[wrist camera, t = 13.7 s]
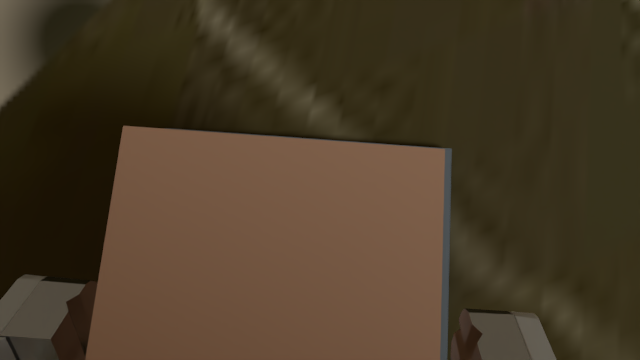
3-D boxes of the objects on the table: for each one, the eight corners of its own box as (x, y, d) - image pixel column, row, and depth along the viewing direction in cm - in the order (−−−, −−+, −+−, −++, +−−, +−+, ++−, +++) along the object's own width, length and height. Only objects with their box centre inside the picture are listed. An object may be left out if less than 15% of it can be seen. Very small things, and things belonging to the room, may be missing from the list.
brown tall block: (372, 219, 19) (445, 149, 8) (364, 366, 18) (436, 509, 7) (234, 208, 19) (123, 125, 8) (218, 354, 18) (65, 480, 7)
